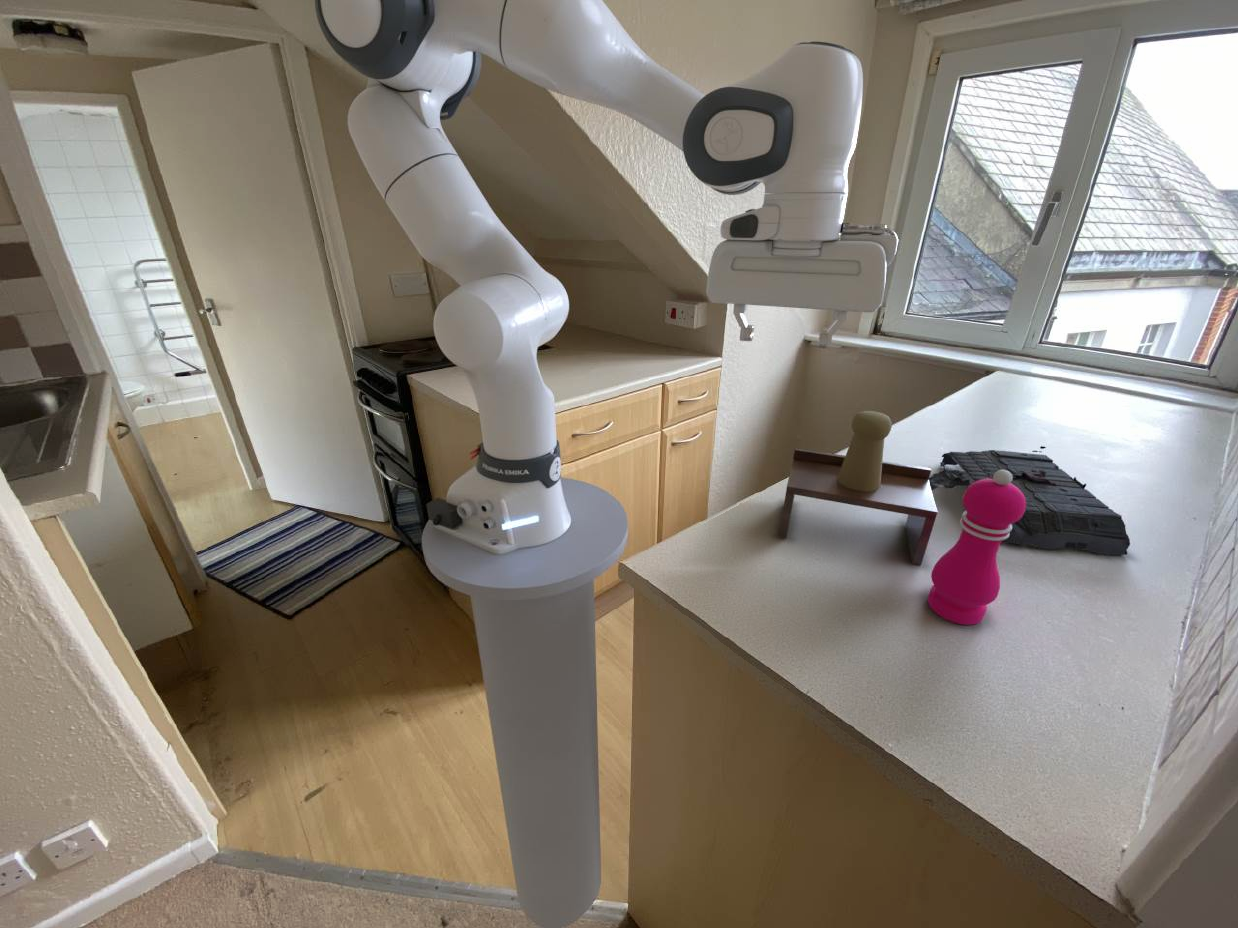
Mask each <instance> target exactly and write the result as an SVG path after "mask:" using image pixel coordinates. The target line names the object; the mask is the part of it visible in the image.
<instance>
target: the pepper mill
mask: <svg viewBox="0 0 1238 928" xmlns="http://www.w3.org/2000/svg"><path fill="white" fill-rule="evenodd" d="M1011 481H1012V474H1011V473H1010V472H1009V471H1007V470H999V471H997V472H995V474H994V475H993V479H982V480H979V481H976V482H974V483H973V484H971V485H970V486H967V488H966V490H965V491H964V493H963V496H962V506H963V508H964V510H965V511H963V513H962V514H961V519H960V520H959V526H960V527H961V528H962V530H961V533H960V536H959V537H958V540H957V541H956V543H955V544H954V545H953V546H952V547H951V548H950V549H949V550H947V552H945V553H944V554H943V555H942V556H941V557H940V558H939V559H938V560H937V561H936V563H935V564H934V566H933V568H932V570H931V573H930V578H931V582H932V584H933V585H932V586H931V588H930V590H929V593H928V596H927V603H928V606H929V608H931V610H932V611H933V612H934V613H935V614H936V615H938V616H940V617H941V618H943V619H945V620H947V621H949V622H952V623H955V624H958V625H964V626H965V625H966V626H970V625H971V626H972V625H973V626H974V625H976V624H979V623H981V622H982V621H983V619H984V618H985V614H986V612H987V609H988V606H987V605H990V604H991V603H993V602H994V601H996V599H997V598H998V595H999V592H1000V589H1001V576H1000V572H999V568H998V562H997V561H998V560H997V555H998V552H999V548H1000V546H1001V543H1002V542H1003V541H1002V540H1005V539H1007V538H1008V537H1009V535H1010V533H1009V532H1010V531H1011V530H1012V525H1011V524H1012V523H1015V522H1016V521H1018V520H1019V519H1020V518H1021V517H1022V516H1023V514H1024V512H1025V509H1026V500H1025V497H1024V495H1023V493H1022V492H1021V491H1020V489H1018V488H1017V487H1016V486H1014V485H1013V484H1011V483H1010V482H1011Z"/></svg>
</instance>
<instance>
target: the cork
mask: <svg viewBox="0 0 1238 928" xmlns="http://www.w3.org/2000/svg"><path fill="white" fill-rule="evenodd" d="M892 428H893V424H892V420H891V418H890V417H889V416H888V415H886V414H885V413H883V412H879V411H873V410H864V411H859V412H857V414H855V416H854V417H853V418H852V421H851V430H852V433H853V434H852V438H851V440H850V443H849V446H848V448H847V450H846V454H845V455H844V456H845V459H844V461H843V464H842V467H841V469H840V472H839V475H838V477H837V479H838V482H839V483H840V484H842V485H843V486H845V487H847V488H850V489H853V490H857V491H864V492H866V491H875V490H877V489H879V487H880V482H881V471H882V461H884V460H883V457H884V449H885V448H884V446H885V439H886V438H887V437H888V436H889V435H890V433H891V430H892Z"/></svg>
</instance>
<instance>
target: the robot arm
mask: <svg viewBox="0 0 1238 928" xmlns="http://www.w3.org/2000/svg"><path fill="white" fill-rule="evenodd" d="M314 8H315V13H316V18H317V22H318V24H319V27H320V30H321V33H322V34H323V36H324V38H325V39H326V41H327V43H328V44H329V45H330V47H331V48H332V49H333V51H334V52H335V53H336V54H337V55H338V56H339V57H340V58H341V59H342V60H343V61H344V63H346V64H347V65H349V66H350V67H351V68H352V69H354V70H355V71H357V72H358V73H360V74H362V75H363V76H364V77H367V78H368V81H367V83H366V86H365V89H363V90H362V91H361V92H360V93H358V94H357V96H356V97H355V98H354V100H352V103H351V104H350V106H349V109H348V112H347V128H348V132H349V135H350V137H351V139H352V142H353V144H354V146H355V147H354V148H355V149H356V151H357V153H358V155H359V158H360V160H361V161H362V164H363V166H364V167H365V170H366V172H367V173H368V176H369V177H370V179H371V180H372V182H373V184H374V186H375V187H376V189H377V191H378V192H379V194H380V196H381V197H382V199H383V200H384V202H385V203H386V205H387V206H388V208H389V210H390V211H391V213H392V214H393V215H394V217H395V218H396V220H397V221H398V223H399V225H400V227H401V228H402V229H403V231H404V233H405V234H406V235H407V237H408V238H409V239H410V241H411V243H412V245H413V246H414V247H415V249H416V251H417V252H418V254H419V255H420V256H421V257H422V258H423V259H424V260H425V261H426V262H427V263H429V264H430V265H432V266H433V267H435V268H437V269H439V270H440V271H442V272H444V273H445V274H447V275H448V276H449V277H451V278H452V279H453V280H454V281H455V282H456V283H457V284H458V285H459V286H458V287H457V288H456V289H454V290H453V291H452V292H450V293H449V294H447V296H445V297H444V298H443V299H442V300H441V301H440V302H439V304H438V305H437V306H436V309H435V312H434V315H433V325H432V326H433V332H434V337H435V340H436V342H437V343H436V344H437V345H438V347H439V349H440V350H441V352H442V353H443V354H444V356H445V357H446V358H447V359H448V360H449V361H450V362H451V363H453V364H454V365H455V366H457V367H458V368H460V369H461V370H462V372H463V373H464V375H465V376H466V378H467V380H468V383H469V384H470V387H471V389H472V391H473V395H474V397H475V401H476V405H477V410H478V416H479V423H480V428H481V429H480V431H481V437H482V442H481V443H479V444H478V445H476V446H477V447H476V448H475V449H473V450H471V451H470V452H469V453H468V455H470V457H469V460H471V461H472V460H473V459H475V458H476V457H478V458H477V461H476V464H474V465H473V466H472V467H471V468H469V469H468V470H467V471H466V472H464V473H463V474H462V475H460V476H459V477H458V478H457V479H455V481H454V482H452V484H451V485H450V486H449V488H448V489H447V494H446V499H443V498H441V497H436V498H434V499H433V500H430V501H429V502H427V503H426V504H425V506H426V510H427V515H428V521H429V520H432V521H433V524H434V527H435V528H436V529H438V530H441V531H443V532H445V533H447V534H450V535H452V536H454V537H457V538H459V539H461V540H463V541H466V542H468V543H470V544H472V545H475V546H477V547H479V548H481V549H484V550H486V551H488V552H491V553H493V554H496V555H501V554H505V553H508V552H511V551H514V550H516V549H521V548H528V547H534V546H539V545H543V544H546V543H549V542H551V541H553V540H555V539H557V538H559V537H560V536H561V535H563V534H564V533H565V532H566V531H567V530H568V528H569V527H570V524H571V516H570V514H569V511H568V509H567V506H566V503H565V499H564V495H563V491H562V486H561V480H560V477H562V457H561V446H560V445H561V444H560V441H559V440H558V439H557V422H556V420H557V419H556V405H555V403H556V402H555V401H556V400H555V395H554V393H553V391H552V390H551V388H549V387H548V385H546V383H545V382H544V380H543V377H542V374H541V370H540V367H539V364H538V358H537V357H538V355H537V354H538V348H539V347H541V346H543V345H544V344H546V343H548V342H550V341H551V340H552V339H553V338H555V336H557V335H558V333H559V331H560V330H561V329H562V327H563V326H564V324H565V322H566V321H567V319H568V316H569V312H570V300H569V295H568V293H567V291H566V288H565V287H564V285H563V284H562V282H561V281H560V280H559V279H558V278H557V277H556V276H555V275H553V274H551V273H550V272H549V271H546V270H545V269H544V268H543V267H542V266H541V265H540V264H539V263H538V262H537V261H536V260H535V259H534V258H533V256H532V255H531V254H530V253H529V252H528V251H527V250H526V248H524V246H523V245H522V244H521V243H520V242H519V241H518V240H517V238H515V236H514V235H513V234H512V233H511V232H510V231H509V229H507V227H506V226H505V225H504V223H502V221H501V220H500V218H499V217H498V216H497V215H496V213H495V212H494V211H493V209H492V207H491V206H490V204H489V202H488V200H486V198H485V196H484V194H483V193H482V191H481V190H480V188H479V187H478V185H477V183H476V182H475V180H474V179H473V177H472V175H471V174H470V171H468V169H467V167H466V165H465V164H464V162H463V161H462V159H461V158H460V156H459V154H458V152H457V151H456V149H455V148H454V146H453V145H452V143H451V141H450V140H449V138H448V137H447V134H446V133H445V130H444V129H443V127H442V123H441V121H444V120H449V119H451V118H452V117H454V116H455V114H456V113H457V110H459V109H458V108H460V107H459V106H460V105H461V103H463V102H464V101H465V100H466V99H467V98H468V97H469V96H470V94H471V93H472V92H473V90H474V88H475V87H476V85H477V83H478V81H479V78H480V76H481V75H480V74H481V69H482V54H483V55H485V56H487V57H489V58H490V59H492V60H493V61H495V62H496V63H498V64H500V65H501V66H503V67H504V68H506V69H508V70H509V71H511V72H512V73H514V74H515V75H517V76H519V77H521V78H522V79H524V80H526V81H528V82H530V83H532V84H534V85H537V86H539V87H541V88H543V89H546V90H548V91H550V92H554V93H556V94H560V95H561V96H562V95H563V96H565V97H569V98H572V99H575V100H578V101H582V102H586V103H590V104H593V105H598V106H600V107H603V108H606V109H609V110H611V111H615V112H618V113H620V114H622V115H624V116H626V117H628V118H630V119H632V120H634V121H635V122H637V123H639V124H640V125H642V126H643V127H645V128H647V129H648V130H650V131H651V132H653V133H654V134H656V135H658V136H660V137H661V138H662V139H664V140H666V141H667V142H669V144H672V145H674V146H675V147H676V148H678V149H679V150H680V151H682V153H683V157H684V161H685V162H686V164H687V167H688V169H689V170H690V172H691V173H692V174H693V175H694V176H695V178H697V180H698V181H699V182H701V183H702V184H704V185H705V186H707V187H710V188H711V189H712V190H714V191H716V192H717V193H720V194H722V195H727V196H737V195H742V194H745V193H748V192H750V191H752V190H753V189H755V188H756V187H758V186H759V185H760V184H761V183H762V184H763V185H764V195H763V202H762V205H761V207H759V208H758V207H757V208H750V209H748V210H746V211H745V212H743V213H740V214H738V215H737V214H736V215H734V216H730V217H727V218H726V219H724V220H722V222H721V224H720V236H721V238H722V239H724V240H723V241H721V242H720V243H718V244H717V245H716V247H715V248H714V250H713V252H712V255H711V259H710V263H709V267H708V268H709V269H708V273H707V281H706V288H705V289H706V290H705V294H706V297H707V298H708V300H709V302H711V303H712V304H713V303H714V304H729V305H733V311H732V315H733V316H734V318H735V320H736V322H737V324H738V327H740V332H739V341H740V342H753V339H754V331H755V325H752V324H748V321H747V318H746V316H745V313H746V312H747V311H748V306H760V307H761V306H762V307H776V308H794V309H807V310H823V311H824V310H825V311H833V315H832V320H834V322H833V323H832V324H831V325H830V327H829V328H828V329H827V330H820V331H819V336H818V340H817V341H818V342H817V348H821V349H831V346H832V340H833V339H832V338H833V335H835V333H837V331H838V330H839V329H840V328H841V327H842V325H843V324H844V323H845V322H846V317H847V313H848V312H857V313H874V312H875V311H877V310H878V309H879V308H880V307H881V306H882V305H883V301H884V296H885V295H884V294H885V289H886V277H887V267H889V266H890V265H891V264H892V263H893V261H894V259H895V257H896V254H897V248H898V243H899V239H898V235H897V233H896V232H895V231H894V230H893V229H891V228H889V227H887V224H885V223H873V224H871V223H870V224H868V223H866V224H865V223H864V224H863V223H860V222H859V223H858V222H857V223H856V222H843V221H844V217H845V210H846V204H847V199H848V193H849V183H848V169H849V164H850V161H851V158H852V156H853V154H854V151H855V149H856V145H857V139H858V134H859V127H860V120H861V112H862V104H863V103H862V102H863V91H864V73H863V72H864V71H863V67H862V63H861V61H860V59H859V58H858V57H857V55H856V54H855V53H854V51H852V50H851V49H848V48H846V47H845V46H843V45H840V44H836V43H831V42H828V41H827V42H826V41H807V42H805V41H802V42H799V43H796V44H793V45H792V46H790V47H789V48H788V49H787V50H786V51H785V52H784V53H783V54H782V55H781V56H780V57H778V58H777V59H776V60H775V61H773V62H772V63H770V64H769V65H768V66H765V67H764V68H762V69H761V70H759V71H757V72H756V73H754V74H752V75H750V76H748V77H745V78H743V79H741V80H739V81H737V82H734V83H731V84H729V85H725V86H723V87H720V88H716V89H714V90H712V91H710V92H709V93H707V94H704V93H703V92H701V91H699V90H698V89H697V88H695V87H693V86H692V85H690V84H689V83H687V82H686V81H684V80H683V79H681V78H679V77H678V76H676V75H675V74H673V73H671V72H670V71H668V70H667V69H666V68H665V67H663V66H661V65H659V64H658V63H657V62H655V61H654V60H653V59H652V58H651V57H650V56H649V55H648V54H647V53H646V52H645V51H643V49H642V48H640V46H639V45H638V44H637V43H636V42H635V41H634V40H633V38H632V37H631V35H629V33H628V32H627V31H626V29H625V28H624V27H623V26H622V24H621V23H620V22H619V20H618V19H617V18H616V16H615V15H614V13H613V12H612V11H611V9H610V8H609V7H608V6H607V4H606V3H605V2H604V1H603V0H314ZM442 114H443V115H442ZM886 233H887V234H886Z"/></svg>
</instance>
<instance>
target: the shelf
mask: <svg viewBox="0 0 1238 928" xmlns="http://www.w3.org/2000/svg"><path fill="white" fill-rule="evenodd" d="M845 456H846V455H844V454H838V453H837V454H836V453H830V452H823V451H816V450H811V449H803V448H798V447H797V448H794V451H793V457H792V462H791V466H790V470H789V474H788V475H789V476H788V480H787V484H786V489H785V495H784V501H783V507H782V514H781V521H780V527H779V532H778V537H779V538H784V539H787V538H788V534H789V528H790V522H791V517H792V512H793V507H794V502H795V501H794V500H795V496H800V497H805V498H811V499H817V500H824V501H829V502H834V503H840V504H847V505H851V506H858V507H863V508H868V509H875V510H879V511H885V512H892V513H897V514H903V515H907V518H906V521H905V530H906V536H907V537H906V538H907V543H908V547H909V553H910V560H911V564H913V565H918V566H922V563H923V560H924V557H925V554H926V550H927V548H928V544H929V541H930V538H931V535H932V531H933V529H934V525H935V524H936V523H935V522H936V520H937V516H938V508H937V505H936V501H935V498H934V495H933V491H931V487H930V484H929V480H928V479H929V477H931V473H932V468H930V467H924V466H919V465H918V466H917V465H912V464H904V463H899V462H891V461H884V460H882V471H881V482H880V487H879V489H877V490H875V491H866V492H864V491H857V490H853V489H850V488H847V487H845V486H843V485H842V484H840V483H839V482H838V479H837V477H838V475H839V472H840V469H841V467H842V464H843V461H844V459H845Z"/></svg>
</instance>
